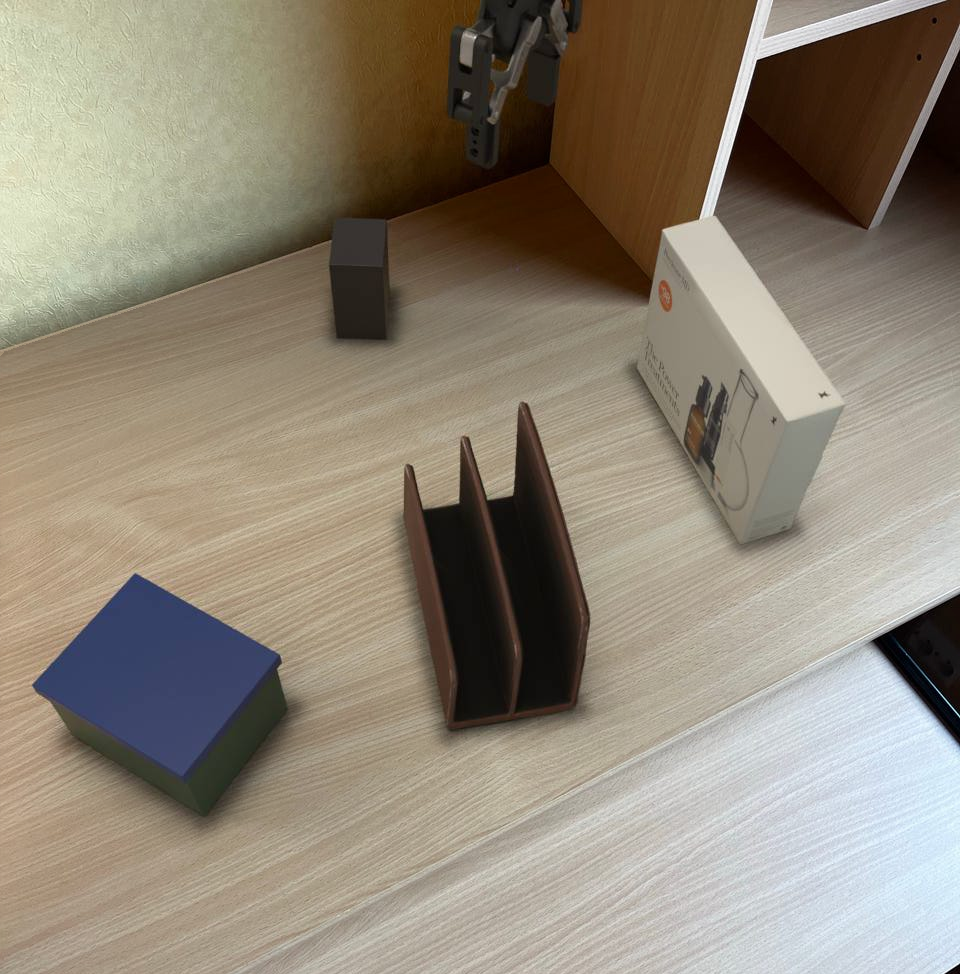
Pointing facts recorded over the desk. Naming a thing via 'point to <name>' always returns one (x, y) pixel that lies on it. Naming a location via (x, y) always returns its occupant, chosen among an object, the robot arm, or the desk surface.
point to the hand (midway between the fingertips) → (511, 131)
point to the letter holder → (500, 591)
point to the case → (360, 278)
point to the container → (167, 692)
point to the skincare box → (734, 380)
